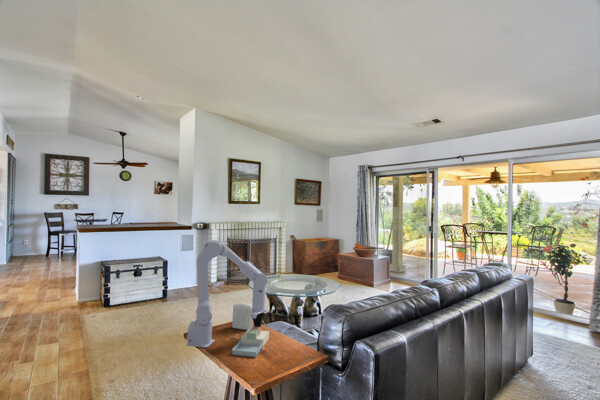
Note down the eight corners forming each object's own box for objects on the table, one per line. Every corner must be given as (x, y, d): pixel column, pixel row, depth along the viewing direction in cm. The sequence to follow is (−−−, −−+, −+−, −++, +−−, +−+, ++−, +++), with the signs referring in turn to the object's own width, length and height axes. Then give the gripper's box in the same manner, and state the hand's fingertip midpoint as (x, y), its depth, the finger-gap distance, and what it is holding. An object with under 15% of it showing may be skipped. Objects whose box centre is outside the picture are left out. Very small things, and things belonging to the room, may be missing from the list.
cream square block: (240, 344, 135) (240, 337, 135) (248, 335, 145) (248, 329, 145) (263, 346, 133) (263, 339, 134) (269, 337, 143) (269, 331, 143)
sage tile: (246, 338, 134) (246, 332, 134) (249, 335, 138) (249, 329, 138) (255, 339, 133) (256, 333, 133) (258, 336, 137) (258, 330, 137)
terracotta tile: (250, 335, 138) (250, 329, 138) (252, 332, 142) (253, 326, 142) (258, 336, 137) (259, 330, 137) (261, 332, 141) (261, 327, 141)
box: (231, 354, 125) (231, 349, 125) (240, 344, 135) (240, 340, 135) (255, 357, 123) (255, 352, 123) (262, 347, 133) (263, 342, 133)
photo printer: (253, 328, 155) (254, 302, 156) (250, 331, 151) (251, 304, 152) (234, 325, 158) (235, 300, 159) (230, 328, 154) (231, 302, 155)
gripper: (262, 304, 135) (261, 336, 135) (271, 296, 150) (270, 325, 149) (247, 303, 137) (245, 334, 136) (256, 295, 151) (255, 323, 150)
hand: (257, 329), depth 142 cm, fingers closed
